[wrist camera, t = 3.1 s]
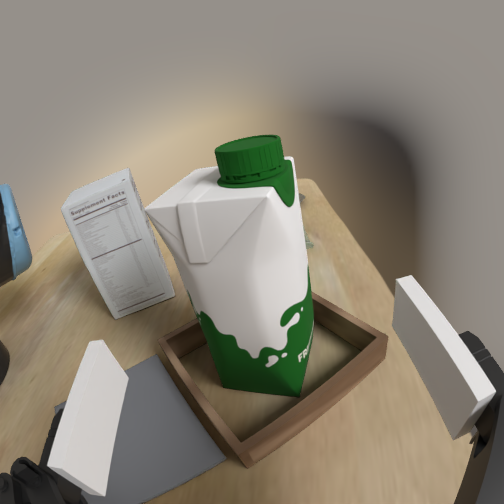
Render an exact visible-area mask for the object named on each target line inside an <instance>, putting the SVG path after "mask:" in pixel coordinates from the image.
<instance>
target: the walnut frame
mask: <svg viewBox="0 0 504 504" xmlns="http://www.w3.org/2000/svg"><path fill="white" fill-rule="evenodd" d="M311 293H312V302H313V312H314V320H315V321H317V322H318V323H320V324H321V325H323V326H324V327H326V328H328V329H329V330H331V331H332V332H334V333H335V334H337V335H338V336H340V337H341V338H343V339H344V340H346V341H347V342H349V343H350V344H352V345H353V346H355V347H357V348H358V349H360V350H361V351H362V352H360V353H359V354H358V355H357V356H356V357H355V358H354V359H353V360H351V361H350V362H349V363H348V364H347V365H346V366H344V367H343V368H342V369H341V370H340V371H338V372H337V373H336V374H335V375H334V376H332V377H331V378H330V379H329V380H328V381H326V382H325V383H324V384H323V385H321V386H320V387H319V388H318V389H316V390H315V391H314V392H312V393H311V394H310V395H309V396H307V397H306V398H305V399H303V400H302V401H301V402H299V403H298V404H297V405H295V406H294V407H293V408H291V409H290V410H289V411H287V412H286V413H284V414H283V415H282V416H280V417H279V418H277V419H276V420H275V421H273V422H272V423H270V424H269V425H267V426H266V427H264V428H263V429H261V430H260V431H258V432H257V433H255V434H254V435H252V436H251V437H249V438H248V439H246V440H245V441H243V442H242V443H241V442H240V441H239V440H238V439H237V437H236V436H235V435H234V434H233V432H232V431H231V430H230V429H229V427H228V426H227V425H226V424H225V422H224V421H223V420H222V419H221V417H220V416H219V415H218V413H217V412H216V411H215V410H214V408H213V407H212V406H211V404H210V403H209V402H208V400H207V399H206V398H205V396H204V395H203V394H202V392H201V391H200V389H199V388H198V387H197V385H196V384H195V383H194V381H193V380H192V378H191V377H190V375H189V374H188V373H187V371H186V370H185V368H184V367H183V365H182V364H181V363H180V361H179V360H178V359H179V358H180V357H182V356H184V355H186V354H187V353H189V352H191V351H193V350H194V349H196V348H198V347H200V346H201V345H203V344H205V343H207V340H206V338H205V336H204V333H203V331H202V328H201V326H200V323H199V321H198V319H197V318H196V319H194V320H193V321H191V322H189V323H187V324H185V325H184V326H182V327H180V328H178V329H176V330H175V331H173V332H171V333H169V334H167V335H165V336H164V337H162V338H160V339H158V342H159V344H160V346H161V347H162V349H163V351H164V353H165V355H166V356H167V358H168V360H169V361H170V363H171V365H172V366H173V368H174V369H175V371H176V372H177V374H178V375H179V377H180V378H181V380H182V381H183V383H184V384H185V386H186V387H187V389H188V390H189V392H190V393H191V395H192V396H193V398H194V399H195V400H196V402H197V403H198V405H199V406H200V408H201V409H202V410H203V412H204V413H205V415H206V416H207V417H208V419H209V420H210V421H211V423H212V424H213V425H214V427H215V428H216V429H217V431H218V432H219V433H220V435H221V436H222V437H223V439H224V440H225V441H226V442H227V444H228V445H229V446H230V448H231V449H232V450H233V451H234V453H235V454H236V455H237V456H238V458H239V459H240V460H241V461H242V462H243V464H244V465H245V466H246V467H247V468H249V467H251V466H252V465H254V464H255V463H257V462H258V461H260V460H261V459H263V458H264V457H266V456H267V455H269V454H270V453H272V452H273V451H275V450H276V449H277V448H279V447H280V446H282V445H283V444H284V443H286V442H287V441H289V440H290V439H291V438H293V437H294V436H295V435H297V434H298V433H299V432H301V431H302V430H303V429H305V428H306V427H307V426H309V425H310V424H311V423H312V422H314V421H315V420H316V419H318V418H319V417H320V416H321V415H323V414H324V413H325V412H326V411H327V410H329V409H330V408H331V407H332V406H333V405H335V404H336V403H337V402H338V401H339V400H341V399H342V398H343V397H344V396H345V395H346V394H347V393H349V392H350V391H351V390H352V389H353V388H354V387H355V386H356V385H358V384H359V383H360V382H361V381H362V380H363V379H364V378H365V377H366V376H367V375H368V374H369V373H370V372H372V371H373V370H374V369H375V368H376V367H377V366H378V365H379V364H380V363H381V362H382V361H383V360H384V359H385V356H386V349H387V342H388V336H387V335H385V334H383V333H382V332H380V331H378V330H377V329H375V328H373V327H371V326H370V325H368V324H366V323H365V322H363V321H361V320H359V319H358V318H356V317H354V316H353V315H351V314H349V313H347V312H346V311H344V310H342V309H341V308H339V307H337V306H336V305H334V304H332V303H330V302H329V301H327V300H325V299H324V298H322V297H320V296H318V295H317V294H315V293H313V292H312V291H311Z"/></svg>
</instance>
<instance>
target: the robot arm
mask: <svg viewBox="0 0 504 504" xmlns="http://www.w3.org/2000/svg"><path fill="white" fill-rule="evenodd" d="M31 263H32V254H31V251H30V247H29V244H28V241H27V238H26V235H25V232H24V229H23V226H22V223H21V219H20V216H19V213H18V210H17V206H16V203H15V200H14V197H13V194H12V190H11V188H10V186H9V185H8V184H3V185H0V287H1V286H2V285H4V284H6V283H8V282H9V281H11V280H15V279H16V277H17V276H18V275H20V274H21V273H23V272H24V271H26V270H27V269H28V268H29V267H30V265H31ZM392 327H393V328H394V330H395V332H396V334H397V335H398V337H399V339H400V340H401V342H402V344H403V346H404V347H405V349H406V351H407V353H408V354H409V356H410V358H411V360H412V362H413V363H414V365H415V367H416V369H417V371H418V373H419V374H420V376H421V378H422V380H423V382H424V384H425V386H426V387H427V389H428V391H429V393H430V395H431V397H432V399H433V401H434V403H435V405H436V407H437V409H438V411H439V413H440V415H441V417H442V419H443V421H444V423H445V425H446V427H447V429H448V431H449V433H450V435H451V437H452V439H453V440H455V439H457V438H459V437H461V436H463V435H465V434H467V433H469V432H470V431H471V429H472V428H473V426H474V425H475V426H476V428H477V429H478V431H477V432H476V434H475V435H474V436H473V437H472V439H471V441H470V443H469V444H472V443H473V442H474V444H473V448H472V452H471V455H470V459H469V462H468V465H467V468H466V471H465V475H464V478H463V480H462V483H461V486H460V489H459V492H458V494H457V497H456V500H455V502H454V504H504V373H503V371H502V370H501V368H500V367H499V365H498V364H497V363H496V361H495V360H494V359H493V357H491V354H490V353H489V351H488V350H487V349H485V346H484V345H483V343H482V342H481V341H480V339H479V338H478V337H477V336H475V335H473V334H472V333H470V332H469V331H466V332H464V333H462V334H459V335H458V334H457V333H456V331H455V330H454V329H453V327H452V326H451V325H450V323H449V322H448V321H447V319H446V318H445V317H444V315H443V314H442V313H441V312H440V310H439V309H438V308H437V306H436V305H435V304H434V303H433V301H432V300H431V299H430V298H429V296H428V295H427V294H426V293H425V291H424V290H423V289H422V288H421V286H420V285H419V284H418V283H417V282H416V280H415V279H414V278H413V277H412V276H411V275H410V276H407V277H403V278H400V279H397V280H396V289H395V302H394V312H393V322H392ZM8 365H9V352H8V350H7V349H6V348H5V346H4V345H3V343H2V342H1V341H0V384H1V383H2V381H3V379H4V377H5V375H6V372H7V369H8ZM128 379H129V378H128V376H127V375H126V373H125V372H124V371H123V369H122V368H121V366H120V365H119V363H118V362H117V361H116V359H115V358H114V356H113V355H112V353H111V352H110V350H109V349H108V347H107V346H106V344H105V342H104V341H103V340H97V341H90V342H89V345H88V347H87V349H86V352H85V354H84V357H83V359H82V362H81V364H80V367H79V370H78V372H77V375H76V377H75V380H74V383H73V385H72V388H71V391H70V394H69V397H68V399H67V402H66V405H65V408H64V409H59V411H58V412H57V414H56V415H55V416H54V418H53V421H52V424H51V427H50V428H51V430H49V433H48V437H47V440H46V443H45V446H44V449H43V453H42V456H41V460H40V463H39V466H37V465H36V464H35V463H33V462H32V461H31V460H29V459H28V458H26V457H20V458H18V459H17V460H16V461H15V462H14V463H13V465H12V466H11V471H10V474H11V476H10V475H9V474H7V473H1V474H0V504H88V502H87V501H86V499H85V498H84V496H83V495H82V494H81V491H82V490H84V491H86V492H87V493H89V494H91V495H98V496H104V497H105V495H106V488H107V482H108V475H109V469H110V464H111V458H112V453H113V447H114V442H115V437H116V432H117V427H118V422H119V418H120V413H121V409H122V404H123V400H124V395H125V391H126V387H127V383H128ZM474 440H475V441H474Z"/></svg>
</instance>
